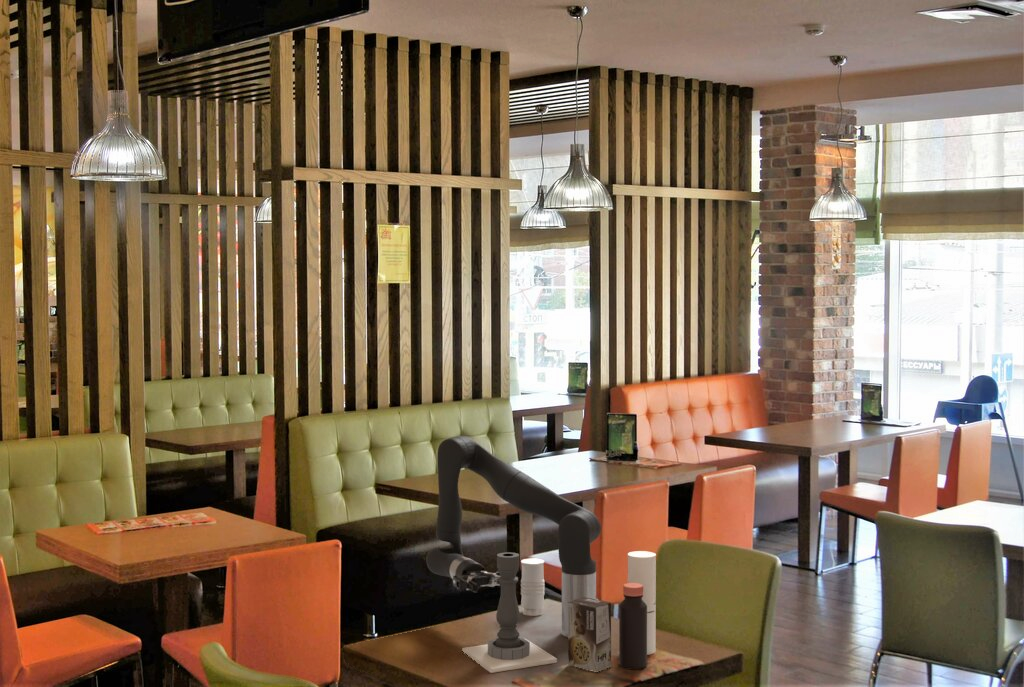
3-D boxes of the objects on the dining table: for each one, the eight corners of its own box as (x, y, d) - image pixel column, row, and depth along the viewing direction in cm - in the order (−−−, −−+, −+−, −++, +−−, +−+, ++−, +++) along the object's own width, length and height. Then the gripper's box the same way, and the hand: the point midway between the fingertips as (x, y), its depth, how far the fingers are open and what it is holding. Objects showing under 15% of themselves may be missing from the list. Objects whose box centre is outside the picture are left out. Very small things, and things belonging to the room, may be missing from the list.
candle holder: (517, 657, 283) (517, 558, 282) (493, 655, 284) (493, 557, 283) (522, 649, 289) (522, 552, 288) (498, 648, 290) (498, 551, 289)
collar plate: (525, 642, 298) (525, 629, 298) (556, 662, 282) (556, 648, 282) (462, 651, 290) (462, 638, 290) (490, 672, 274) (490, 658, 274)
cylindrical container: (659, 648, 293) (659, 552, 292) (650, 656, 286) (650, 558, 285) (632, 644, 296) (633, 550, 295) (623, 652, 289) (623, 555, 288)
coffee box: (612, 667, 278) (612, 602, 278) (596, 673, 273) (596, 607, 273) (583, 659, 284) (583, 595, 284) (567, 665, 280) (566, 601, 279)
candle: (549, 612, 326) (549, 561, 325) (533, 617, 321) (533, 565, 320) (532, 608, 331) (532, 557, 330) (515, 613, 326) (515, 561, 325)
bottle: (629, 671, 275) (629, 590, 274) (613, 663, 281) (614, 583, 280) (652, 667, 278) (652, 586, 277) (636, 659, 284) (637, 580, 283)
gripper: (443, 562, 306) (466, 575, 292) (491, 556, 312) (516, 569, 298) (443, 589, 307) (466, 604, 292) (491, 583, 313) (516, 597, 298)
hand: (491, 586), depth 295 cm, fingers open, 8 cm apart
